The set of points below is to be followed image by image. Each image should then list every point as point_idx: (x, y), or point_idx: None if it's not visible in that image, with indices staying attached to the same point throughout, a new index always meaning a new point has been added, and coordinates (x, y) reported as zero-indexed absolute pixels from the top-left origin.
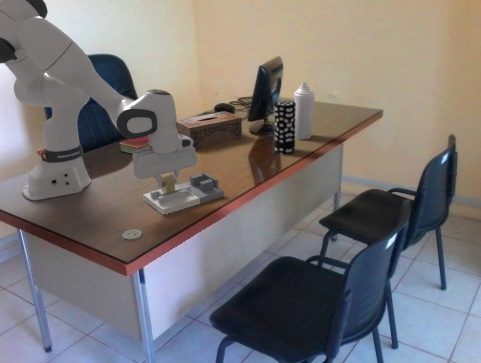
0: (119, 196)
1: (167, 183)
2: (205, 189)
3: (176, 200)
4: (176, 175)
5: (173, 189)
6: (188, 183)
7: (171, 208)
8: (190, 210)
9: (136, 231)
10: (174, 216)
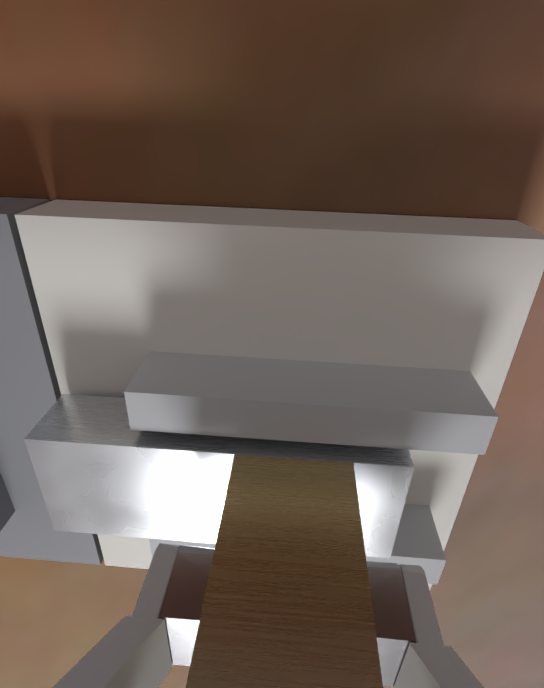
0: (486, 651)
1: (338, 584)
2: None
3: (279, 338)
4: (116, 677)
5: (253, 474)
6: (24, 535)
7: (423, 227)
8: (219, 120)
9: None
10: (451, 106)
